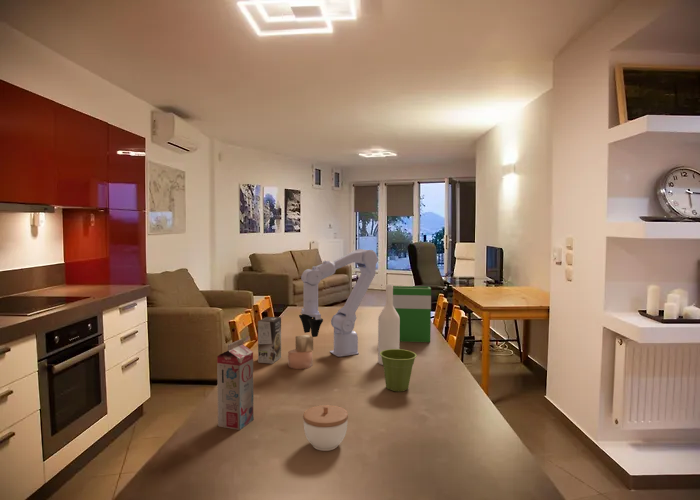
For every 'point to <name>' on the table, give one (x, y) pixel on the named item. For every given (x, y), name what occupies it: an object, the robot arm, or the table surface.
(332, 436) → the lidded jar
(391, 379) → the plant pot
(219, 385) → the juice carton
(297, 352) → the salmon pink cylinder
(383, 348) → the bottle
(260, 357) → the coffee box
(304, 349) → the maple cube
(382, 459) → the table surface
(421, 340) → the hardback book
